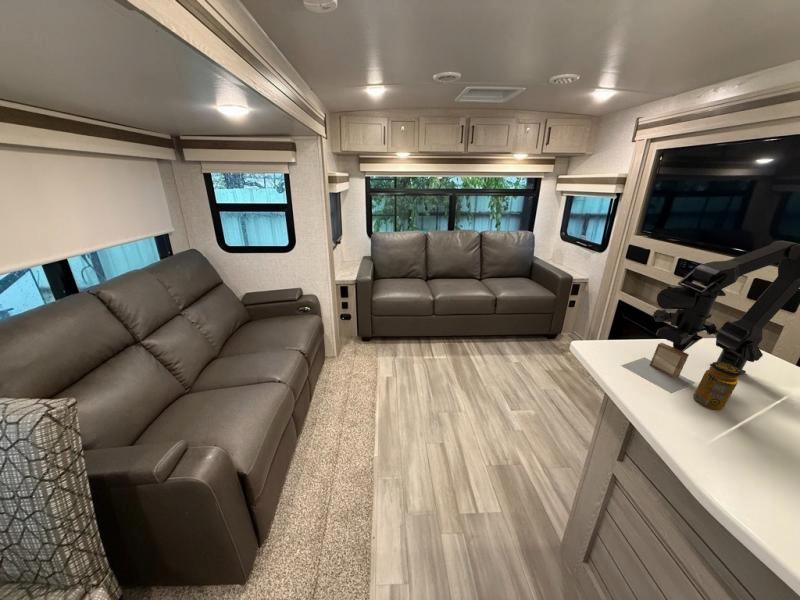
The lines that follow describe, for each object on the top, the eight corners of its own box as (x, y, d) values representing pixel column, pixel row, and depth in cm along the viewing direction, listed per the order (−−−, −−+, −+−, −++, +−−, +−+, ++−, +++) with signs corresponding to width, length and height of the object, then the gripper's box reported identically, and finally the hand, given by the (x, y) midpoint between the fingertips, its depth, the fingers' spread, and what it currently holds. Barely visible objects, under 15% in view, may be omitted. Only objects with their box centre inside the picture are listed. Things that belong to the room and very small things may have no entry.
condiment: (728, 406, 81) (749, 369, 77) (718, 420, 77) (740, 381, 72) (693, 391, 87) (710, 355, 82) (682, 402, 83) (700, 365, 78)
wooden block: (653, 364, 98) (662, 342, 95) (678, 376, 92) (689, 354, 89) (648, 365, 97) (657, 344, 94) (674, 378, 91) (684, 356, 88)
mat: (644, 358, 102) (644, 357, 102) (694, 383, 90) (695, 382, 90) (620, 366, 97) (620, 365, 97) (670, 394, 85) (671, 393, 85)
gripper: (682, 294, 98) (664, 336, 104) (646, 302, 91) (629, 347, 97) (727, 308, 89) (704, 353, 95) (690, 318, 82) (669, 367, 88)
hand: (675, 354), depth 94 cm, fingers closed
